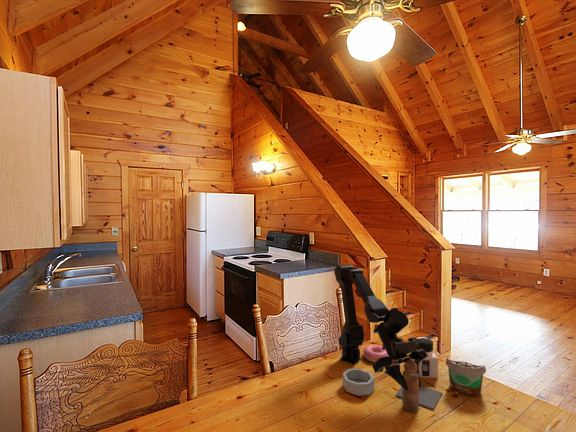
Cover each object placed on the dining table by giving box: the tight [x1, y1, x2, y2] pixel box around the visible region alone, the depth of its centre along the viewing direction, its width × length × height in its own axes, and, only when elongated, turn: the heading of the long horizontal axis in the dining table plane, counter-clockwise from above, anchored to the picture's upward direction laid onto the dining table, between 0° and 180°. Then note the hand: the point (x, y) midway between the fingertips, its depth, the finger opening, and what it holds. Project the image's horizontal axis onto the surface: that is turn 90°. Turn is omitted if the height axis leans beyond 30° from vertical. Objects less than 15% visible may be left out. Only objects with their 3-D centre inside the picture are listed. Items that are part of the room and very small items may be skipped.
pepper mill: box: [401, 360, 420, 414], centre depth 98 cm, size 5×5×15 cm
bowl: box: [342, 368, 375, 396], centre depth 110 cm, size 10×10×4 cm
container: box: [409, 336, 439, 379], centre depth 120 cm, size 8×8×13 cm
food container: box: [445, 356, 487, 398], centre depth 106 cm, size 12×6×10 cm, turn 62°
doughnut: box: [362, 344, 389, 363], centre depth 132 cm, size 11×11×4 cm
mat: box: [395, 385, 443, 411], centre depth 106 cm, size 12×11×1 cm
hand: (413, 388), depth 97 cm, fingers closed on pepper mill, 5 cm apart
